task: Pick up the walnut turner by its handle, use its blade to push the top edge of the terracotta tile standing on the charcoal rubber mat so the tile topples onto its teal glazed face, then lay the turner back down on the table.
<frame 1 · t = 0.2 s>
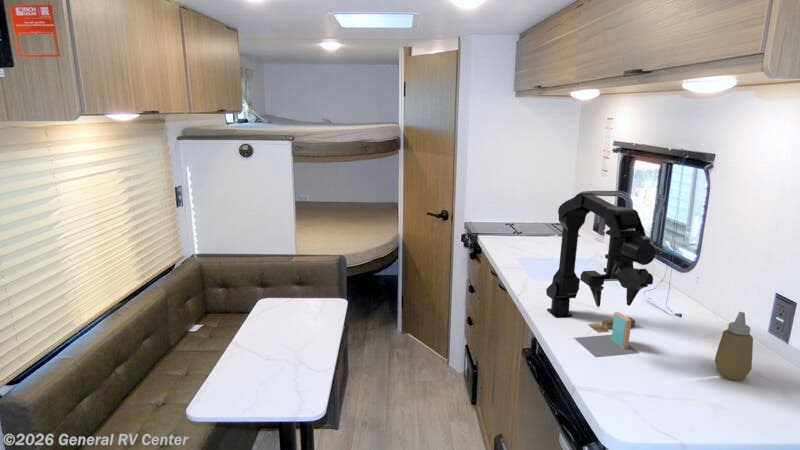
hand: (613, 305, 134), 14 cm above the worktop, tool pointing down, fingers open, 9 cm apart
tile: (619, 343, 140), point 1 cm above the worktop, touching mat
mat: (605, 347, 140), on the worktop
squeeze bottle: (730, 376, 124), on the worktop
turner: (623, 328, 153), on the worktop
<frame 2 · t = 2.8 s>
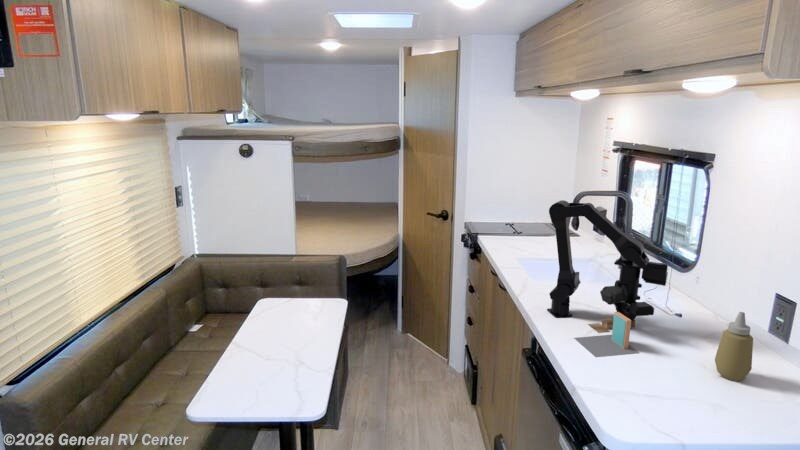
hand: (623, 324, 152), 1 cm above the worktop, tool pointing down, fingers closed on turner, 3 cm apart
turner: (623, 327, 153), on the worktop, touching gripper
everything else where it was.
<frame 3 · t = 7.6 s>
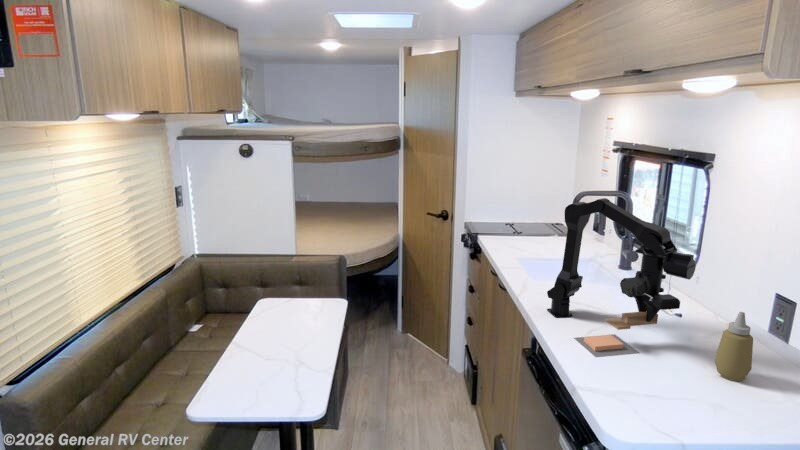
hand: (645, 319, 140), 8 cm above the worktop, tool pointing down, fingers closed on turner, 3 cm apart
tile: (617, 341, 140), point 1 cm above the worktop, tilted 90°, touching mat
turner: (644, 322, 140), point 7 cm above the worktop, touching gripper
everything else where it was.
when the fingers open (3 cm above the worktop, at t = 11.7 s): turner drops 2 cm, on the worktop.
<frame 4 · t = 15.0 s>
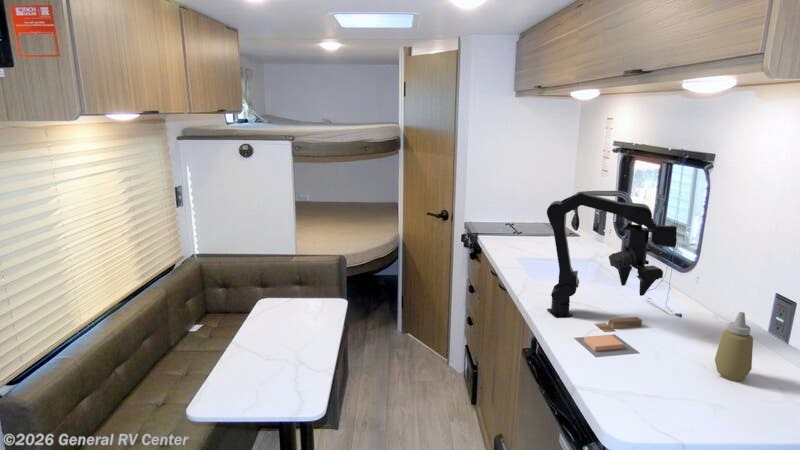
hand: (632, 290, 152), 12 cm above the worktop, tool pointing down, fingers open, 9 cm apart
turner: (629, 327, 153), on the worktop
everything else where it was.
at the end: tile tilted 90°; tile inside the target area (0.1 cm from its centre), point 1.4 cm above the worktop; turner inside the target area (0.3 cm from its centre), on the worktop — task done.
